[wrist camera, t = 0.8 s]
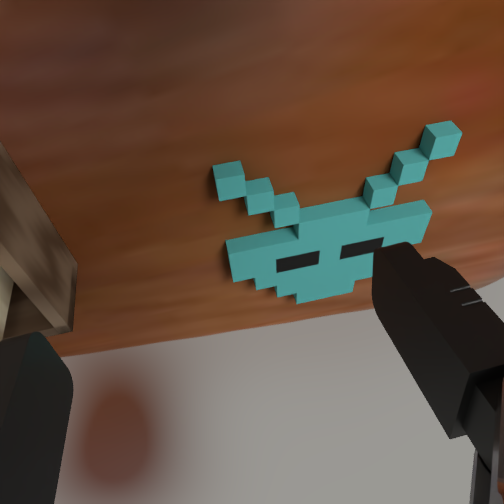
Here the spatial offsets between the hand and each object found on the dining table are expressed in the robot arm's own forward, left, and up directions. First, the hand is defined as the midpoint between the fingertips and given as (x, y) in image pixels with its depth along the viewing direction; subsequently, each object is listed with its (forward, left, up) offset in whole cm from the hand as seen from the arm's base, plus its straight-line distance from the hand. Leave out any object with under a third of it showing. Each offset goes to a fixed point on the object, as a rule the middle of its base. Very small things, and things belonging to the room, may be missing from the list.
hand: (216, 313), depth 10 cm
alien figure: (+22, +11, -21) cm, 33 cm away
